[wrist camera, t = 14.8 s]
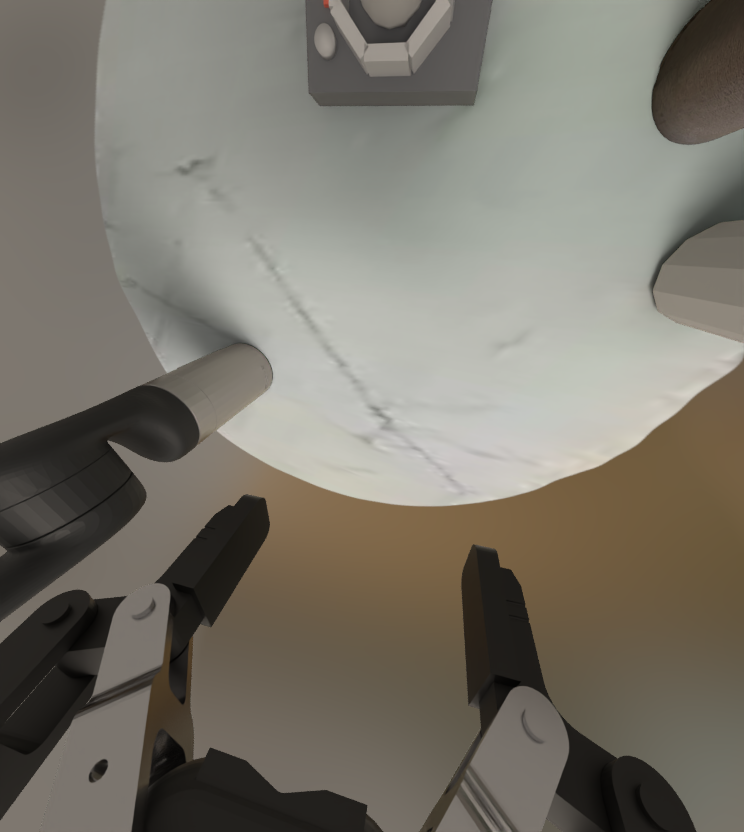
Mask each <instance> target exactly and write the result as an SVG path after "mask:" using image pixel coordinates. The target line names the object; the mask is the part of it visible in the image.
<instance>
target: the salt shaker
mask: <svg viewBox="0 0 744 832" xmlns="http://www.w3.org/2000/svg"><path fill="white" fill-rule="evenodd" d="M421 2H422V0H361V3H362V6H363V8H364V10H365V11H366V12H367V14H368V15H369V16H370V18H371V19H372V21H373V22H374V23H375V25H378V26H381V27H384V28H386V29H389V30H390V29H393V28H396V27H405V26H406V24H407V23H408V21H409V19H410V18H411V17H412V16H413V15H414V13H415V12H416V11H417V10H418V9H419V6H420V4H421Z"/></svg>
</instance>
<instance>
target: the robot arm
mask: <svg viewBox="0 0 744 832" xmlns="http://www.w3.org/2000/svg"><path fill="white" fill-rule="evenodd" d="M271 383H272V370H271V367H270V364H269V362H268V361H267V359H266V358H265V356H264V355H263V354H262V353H261V352H260V351H258V350H257V349H256V348H254V347H252V346H250V345H247V344H242V343H238V344H233V345H231V346H229V347H226V348H224V349H220V350H218V351H215V352H213V353H211V354H208V355H206V356H204V357H202V358H199V359H197V360H195V361H193V362H190V363H188V364H186V365H183V366H181V367H179V368H177V369H176V370H174V371H172V372H169V373H167V374H165V375H163V376H161V377H158V378H156V379H154V380H152V381H149V382H147V383H145V384H143V385H140V386H138V387H136V388H134V389H131V390H129V391H127V392H125V393H123V394H121V395H119V396H116V397H114V398H112V399H110V400H108V401H105V402H103V403H101V404H99V405H97V406H94V407H92V408H89V409H87V410H85V411H83V412H80V413H77V414H75V415H72V416H70V417H67V418H65V419H62V420H60V421H57V422H54V423H52V424H49V425H46V426H44V427H41V428H38V429H36V430H33V431H31V432H28V433H26V434H23V435H20V436H17V437H15V438H13V439H10V440H8V441H5V442H3V443H0V545H1V546H2V547H3V548H5V549H6V550H7V552H6V553H5V554H4V555H3V556H1V557H0V622H1V621H2V620H3V619H5V618H6V617H7V616H8V615H10V614H11V613H12V612H14V611H15V610H16V609H18V608H19V607H20V606H22V605H23V604H24V603H26V602H27V601H28V600H30V599H31V598H32V597H33V596H35V595H36V594H37V593H39V592H40V591H42V590H43V589H44V588H46V587H47V586H48V585H50V584H51V583H52V582H53V581H55V580H56V579H57V578H59V577H60V576H62V575H63V574H64V573H65V572H67V571H68V570H69V569H71V568H72V567H73V566H75V565H76V564H78V562H80V561H82V560H83V559H84V558H85V557H87V556H88V555H89V554H91V553H92V552H93V551H94V550H96V549H97V548H98V547H100V546H101V545H102V544H104V542H106V541H107V540H108V539H110V538H111V537H112V536H113V535H115V534H116V533H117V532H118V531H119V530H121V528H123V527H124V526H125V525H126V524H127V523H128V522H129V521H130V520H131V519H132V518H133V517H134V516H135V515H136V514H137V513H138V511H139V510H140V509H141V507H142V506H143V505H144V503H145V501H146V491H145V489H144V487H143V485H142V484H141V482H140V481H139V480H138V478H137V477H136V476H135V475H134V473H133V472H132V471H131V470H130V469H129V467H128V466H127V465H126V464H125V463H124V462H123V460H122V459H121V458H120V457H119V455H118V454H117V453H116V452H115V451H114V449H113V448H112V447H111V446H110V445H109V444H108V442H107V440H109V441H112V442H115V443H118V444H120V445H122V446H124V447H126V448H128V449H129V450H131V451H133V452H135V453H137V454H138V455H140V456H142V457H145V458H147V459H150V460H153V461H158V462H172V461H175V460H177V459H180V458H181V457H183V456H184V455H186V454H187V453H188V452H190V451H191V450H192V449H193V448H195V447H196V446H197V445H198V444H200V443H201V442H202V441H203V440H205V439H206V438H207V437H208V436H210V435H211V434H212V433H213V432H215V431H216V430H217V429H219V428H220V427H221V426H222V425H224V424H225V423H226V422H227V421H229V420H230V419H231V418H233V417H234V416H235V415H236V414H238V413H239V412H240V411H241V410H243V409H244V408H245V407H247V406H248V405H249V404H250V403H252V402H253V401H254V400H256V399H257V398H258V397H259V396H261V395H262V394H263V393H264V392H266V391H267V390H268V389H269V388H270V386H271ZM269 527H270V522H269V516H268V511H267V505H266V500H265V499H264V498H261V497H257V496H252V495H248V494H246V495H243V496H242V497H241V498H240V500H239V501H238V502H237V503H236V504H235V506H230V505H228V506H227V507H225V508H224V509H222V510H221V511H219V512H218V513H216V514H215V515H214V516H213V517H212V518H211V520H210V521H209V522H208V523H207V524H206V525H205V528H204V529H202V530H201V531H200V532H199V534H198V535H197V536H196V538H195V539H193V541H192V542H191V543H190V544H189V545H188V546H187V547H186V549H185V550H184V551H183V552H182V553H181V554H180V556H179V557H178V558H177V559H176V560H175V562H174V563H173V564H172V565H171V566H170V567H169V568H168V570H167V571H166V572H165V573H164V574H163V575H162V576H161V577H160V578H159V579H158V580H157V581H156V582H155V583H154V584H149V585H146V586H143V587H141V588H139V589H137V590H135V591H134V592H132V593H131V594H130V595H128V596H124V597H114V598H104V599H94V600H93V599H92V598H91V596H90V595H89V594H88V593H87V592H86V591H83V590H72V591H68V592H65V593H62V594H60V595H58V596H56V597H54V598H52V599H50V600H49V601H47V602H46V603H44V604H43V605H42V606H40V607H39V608H38V609H37V610H36V611H35V612H34V613H33V614H32V615H31V616H30V617H28V618H27V619H26V620H25V621H24V622H23V623H22V624H21V625H20V626H19V627H18V628H17V629H16V630H14V631H13V632H12V633H11V634H10V635H9V636H8V637H7V638H6V639H5V640H4V641H3V642H2V643H1V644H0V820H1V819H2V817H3V816H4V815H5V813H6V812H7V810H8V809H9V808H10V806H11V805H12V804H13V802H14V801H15V800H16V798H17V797H18V796H19V794H20V793H21V792H22V790H23V789H24V787H25V786H26V785H27V783H28V782H29V781H30V779H31V778H32V777H33V775H34V774H35V772H36V771H37V770H38V768H39V767H40V766H41V764H42V763H43V762H44V760H45V759H46V758H47V756H48V755H49V754H50V752H51V751H52V750H53V748H54V747H55V745H56V744H57V743H58V741H59V740H60V739H61V737H62V736H63V735H64V733H65V732H66V731H67V729H68V728H69V726H70V728H69V731H68V735H67V738H66V742H65V745H64V749H63V752H62V756H61V759H60V763H59V766H58V770H57V773H56V776H55V780H54V783H53V787H52V790H51V794H50V797H49V800H48V804H47V807H46V811H45V814H44V818H43V821H42V825H41V828H40V832H383V831H382V830H381V828H380V827H379V826H378V825H377V823H376V822H375V821H374V820H373V819H372V818H371V817H369V816H368V815H367V814H366V812H367V805H365V804H363V803H360V802H357V801H355V800H352V799H349V798H346V797H344V796H341V795H338V794H335V793H333V792H330V791H327V790H321V791H307V792H295V793H280V792H278V791H277V790H276V789H275V788H274V787H273V786H272V785H270V784H269V782H268V781H266V780H265V779H264V778H263V777H262V776H261V775H260V774H259V773H258V772H257V771H256V770H255V769H254V768H253V767H252V766H251V765H250V764H249V763H248V762H247V761H245V760H243V759H240V758H237V757H235V756H232V755H229V754H226V753H224V752H221V751H218V750H215V749H213V748H210V749H209V751H208V753H207V755H206V757H204V758H200V759H196V760H193V755H194V727H193V719H192V714H191V703H190V702H191V680H192V659H193V634H194V632H195V631H196V630H197V628H198V627H199V625H200V624H202V625H205V626H208V627H212V625H213V624H214V622H215V620H216V619H217V617H218V616H219V614H220V612H221V611H222V609H223V607H224V606H225V604H226V603H227V601H228V599H229V598H230V596H231V594H232V593H233V591H234V589H235V588H236V586H237V585H238V583H239V581H240V580H241V578H242V576H243V575H244V573H245V572H246V570H247V568H248V567H249V565H250V563H251V562H252V560H253V558H254V557H255V555H256V554H257V552H258V550H259V549H260V547H261V545H262V544H263V542H264V541H265V539H266V537H267V534H268V531H269ZM462 604H463V621H464V638H465V655H466V671H467V687H468V688H467V689H468V705H469V706H471V707H475V708H478V709H480V720H481V728H480V730H479V731H478V733H477V735H476V737H475V738H474V740H473V742H472V744H471V746H470V747H469V749H468V751H467V752H466V754H465V756H464V757H463V759H462V761H461V763H460V765H459V766H458V768H457V770H456V771H455V773H454V775H453V777H452V778H451V780H450V782H449V784H448V785H447V787H446V789H445V791H444V792H443V794H442V796H441V797H440V799H439V800H438V802H437V803H436V805H435V806H434V808H433V809H432V811H431V813H430V814H429V816H428V818H427V819H426V821H425V823H424V824H423V826H422V828H421V829H420V831H419V832H541V831H542V828H543V825H544V822H545V820H546V819H547V820H549V821H550V822H551V823H552V824H554V825H555V826H556V827H557V828H558V829H559V830H561V831H562V832H696V830H695V828H694V825H693V822H692V820H691V818H690V816H689V814H688V812H687V810H686V808H685V806H684V805H683V803H682V801H681V800H680V798H679V797H678V795H677V794H676V792H675V791H674V790H673V788H672V787H671V786H670V785H669V784H668V782H667V781H666V780H665V779H664V778H663V777H662V776H661V775H660V774H659V773H658V772H657V771H656V770H655V769H654V768H652V767H651V766H650V765H648V764H647V763H645V762H644V761H642V760H640V759H638V758H636V757H632V756H622V757H619V758H618V759H617V758H616V757H614V756H613V755H611V754H610V753H608V752H607V751H605V750H604V749H603V748H601V747H600V746H598V745H597V744H595V743H594V742H592V741H591V740H589V739H588V738H586V737H585V736H583V735H582V734H580V733H579V732H578V731H577V730H575V729H574V728H573V727H572V726H571V725H570V724H569V723H567V721H566V720H565V719H564V718H563V717H562V716H561V715H560V713H559V712H558V711H557V709H556V708H555V706H554V705H553V703H552V701H551V699H550V697H549V696H548V693H547V690H546V688H545V685H544V681H543V677H542V673H541V668H540V664H539V660H538V656H537V651H536V647H535V643H534V639H533V635H532V631H531V626H530V623H529V618H528V614H527V609H526V608H525V601H524V597H523V592H522V589H521V585H520V584H519V582H518V581H517V579H516V577H515V576H514V574H513V572H512V571H511V570H510V569H506V568H501V567H500V564H499V559H498V554H497V551H496V550H495V549H492V548H488V547H483V546H479V545H472V547H471V550H470V553H469V555H468V558H467V560H466V563H465V566H464V569H463V573H462ZM54 666H55V667H54ZM53 667H54V668H53ZM52 668H53V669H52ZM51 669H52V670H51ZM50 670H51V671H50ZM49 672H50V673H49ZM48 673H49V674H48ZM47 674H48V675H47ZM46 675H47V676H46ZM45 676H46V677H45ZM44 677H45V678H44ZM43 678H44V679H43ZM41 681H42V682H41ZM40 682H41V683H40ZM39 683H40V684H39ZM38 684H39V685H38ZM37 685H38V686H37ZM36 686H37V687H36ZM35 687H36V688H35ZM33 690H34V691H33ZM32 691H33V692H32ZM31 692H32V693H31ZM30 693H31V694H30ZM29 694H30V695H29ZM28 695H29V697H28ZM26 698H27V699H26ZM90 698H91V699H90ZM25 699H26V700H25ZM89 699H90V701H89ZM24 700H25V701H24ZM23 701H24V702H23ZM88 701H89V702H88ZM22 702H23V703H22ZM87 702H88V703H87ZM21 703H22V704H21ZM86 703H87V704H86ZM20 704H21V705H20ZM19 706H20V707H19ZM18 707H19V708H18ZM17 708H18V709H17ZM16 709H17V710H16ZM15 710H16V711H15ZM14 711H15V712H14ZM13 712H14V714H13V715H12V713H13ZM11 715H12V716H11ZM10 716H11V717H10ZM9 717H10V718H9ZM8 718H9V719H8ZM7 719H8V720H7ZM4 723H5V724H4Z"/></svg>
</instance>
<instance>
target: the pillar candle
mask: <svg viewBox="0 0 744 832" xmlns="http://www.w3.org/2000/svg"><path fill="white" fill-rule="evenodd" d="M652 112H653V118H654V121H655V124H656V126H657V128H658V130H659V131H660V133H661V134H662V135H663V136H664V137H665V138H667V139H668V140H669V141H672V142H675V143H678V144H686V145H689V144H700V143H704V142H708V141H711V140H714V139H717V138H720V137H722V136H724V135H727V134H730V133H732V132H735V131H737V130H740V129H742V128H744V0H711V1H709V3H707V4H706V5H705V7H704V8H702V9H701V10H699V11H698V12H697V13H696V14H695V15H694V16H693V18H692V19H691V20H690V21H689V22H688V23H687V24H686V26H685V27H684V28H683V29H682V31H681V32H680V34H679V35H678V36H677V38H676V39H675V41H674V42H673V43H672V45H671V47H670V48H669V50H668V52H667V54H666V56H665V57H664V59H663V61H662V63H661V67H660V71H659V74H658V77H657V81H656V84H655V86H654V90H653V99H652Z"/></svg>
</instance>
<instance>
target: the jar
mask: <svg viewBox="0 0 744 832" xmlns="http://www.w3.org/2000/svg"><path fill="white" fill-rule="evenodd" d="M653 294H654V298H655V302H656V306H657V310H658V312H660V313H661V314H663V315H665V316H666V317H668V318H669V319H671V320H673V321H674V322H676V323H679V324H682V325H686V326H689V327H692V328H696V329H699V330H702V331H705V332H709V333H712V334H715V335H719V336H722V337H725V338H728V339H732V340H735V341H738V342H742V343H744V220H738V221H728V222H720V223H718V224H716V225H714V226H712V227H710V228H708V229H706V230H704V231H702V232H700V233H698V234H696V235H695V236H693V237H691V238H689V239H687V240H686V241H685V242H684V243H683V244H682V245H681V246H680V247H679V248H678V249H677V250H676V251H675V252H674V253H673V254H672V255H671V256H670V257H669V258H668V260H667V261H666V262H665V263H664V264H663V265H662V267H661V270H660V273H659V275H658V278H657V280H656V283H655V286H654V288H653Z"/></svg>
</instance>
